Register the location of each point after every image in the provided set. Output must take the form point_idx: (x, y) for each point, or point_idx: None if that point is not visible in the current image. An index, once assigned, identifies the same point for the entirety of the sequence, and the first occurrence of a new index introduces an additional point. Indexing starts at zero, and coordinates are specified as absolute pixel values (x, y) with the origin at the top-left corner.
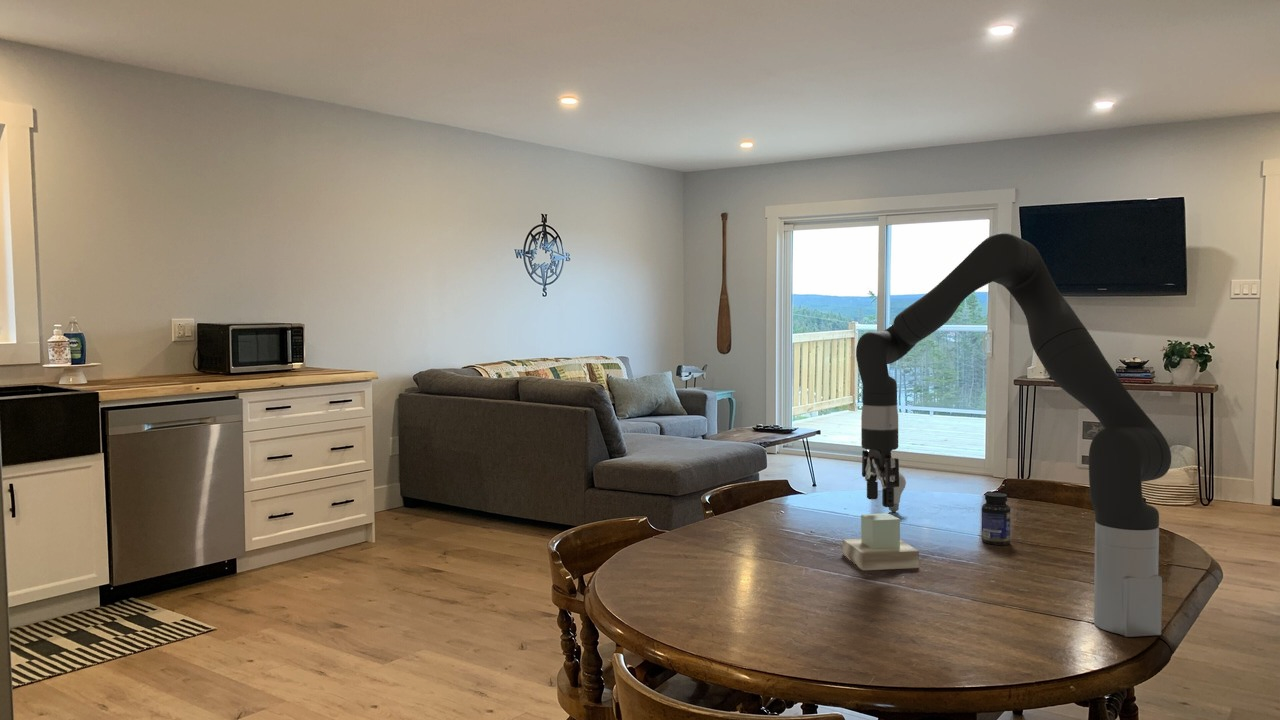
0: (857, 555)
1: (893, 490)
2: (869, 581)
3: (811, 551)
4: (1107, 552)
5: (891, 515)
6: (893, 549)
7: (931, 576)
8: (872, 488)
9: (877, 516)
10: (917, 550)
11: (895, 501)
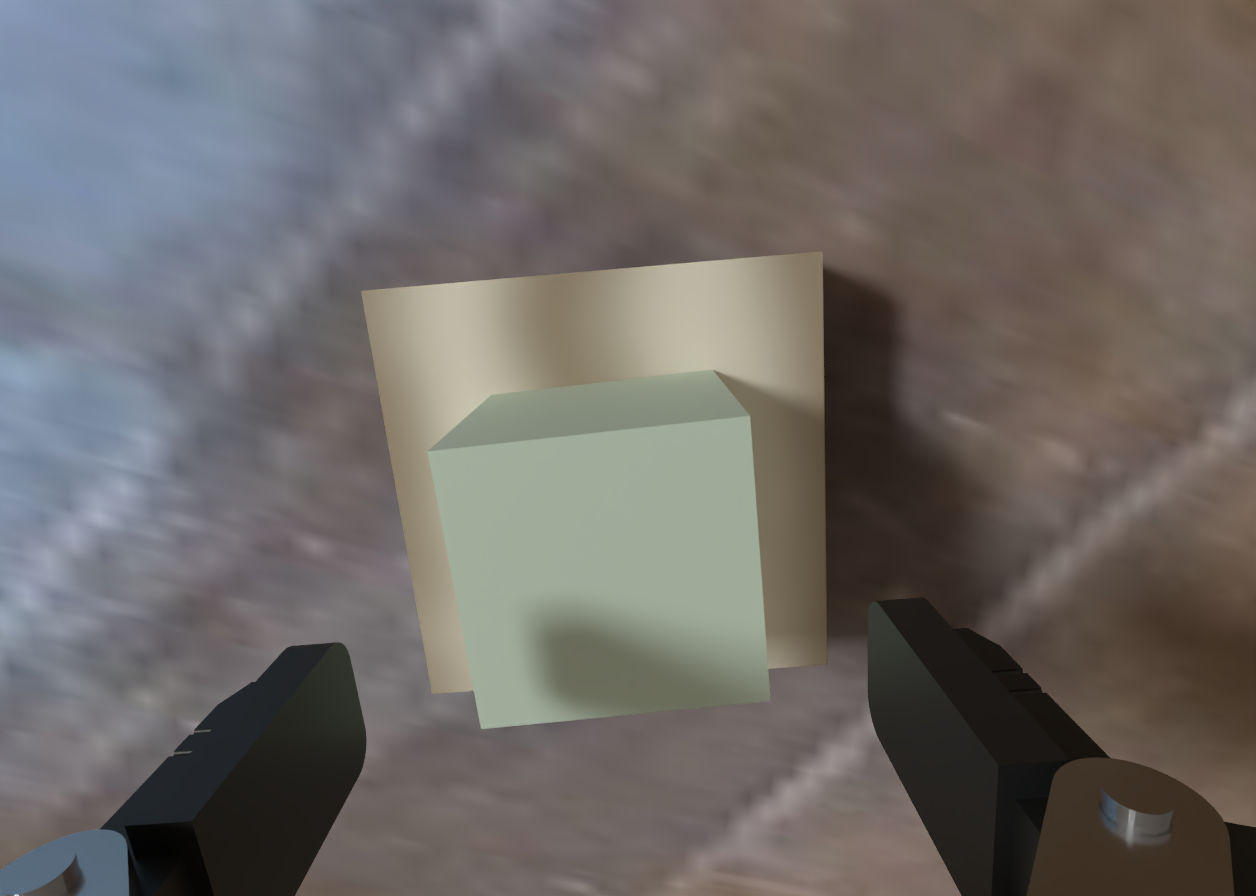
0: None
1: (1049, 744)
2: (1016, 631)
3: (376, 779)
4: None
5: (551, 447)
6: (752, 432)
7: (996, 242)
8: (287, 816)
9: (591, 605)
10: (805, 257)
11: None
